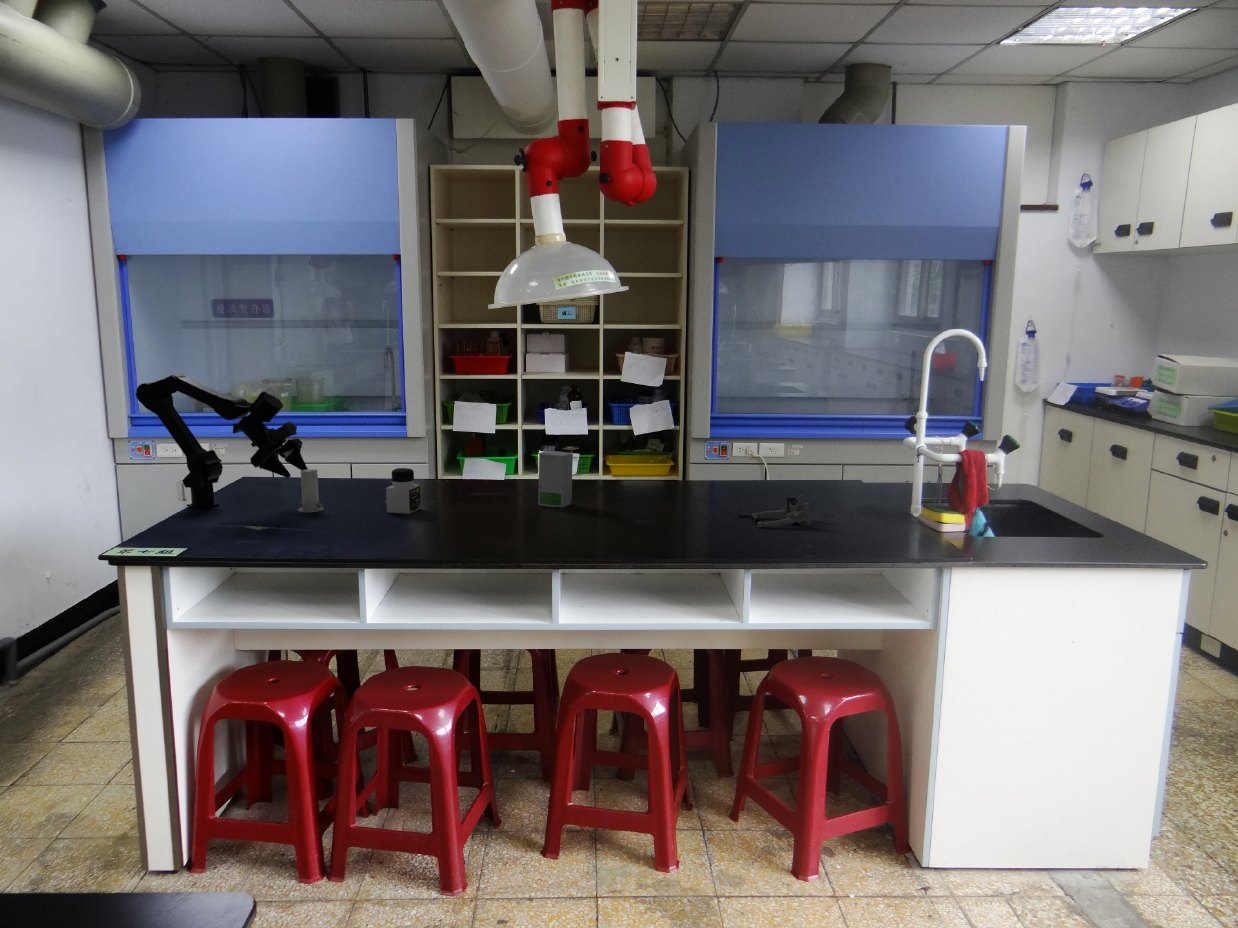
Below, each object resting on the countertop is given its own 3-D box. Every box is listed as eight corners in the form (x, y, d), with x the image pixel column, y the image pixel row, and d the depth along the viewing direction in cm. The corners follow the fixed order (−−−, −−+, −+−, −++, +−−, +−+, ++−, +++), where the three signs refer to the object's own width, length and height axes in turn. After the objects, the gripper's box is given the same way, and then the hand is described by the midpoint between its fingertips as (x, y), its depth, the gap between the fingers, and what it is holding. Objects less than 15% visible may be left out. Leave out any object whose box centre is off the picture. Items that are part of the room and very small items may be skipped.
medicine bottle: (410, 514, 243) (408, 471, 241) (386, 512, 244) (384, 470, 242) (421, 508, 250) (419, 467, 248) (397, 507, 251) (396, 466, 249)
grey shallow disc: (292, 513, 242) (292, 511, 242) (305, 508, 249) (305, 506, 249) (316, 514, 241) (316, 512, 241) (328, 509, 248) (328, 507, 248)
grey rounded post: (296, 510, 243) (294, 471, 241) (304, 507, 247) (302, 468, 246) (317, 511, 242) (315, 472, 240) (325, 508, 246) (323, 469, 245)
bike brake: (807, 515, 242) (735, 524, 244) (804, 491, 241) (732, 501, 242) (816, 527, 229) (740, 538, 230) (813, 502, 228) (737, 513, 229)
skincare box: (537, 506, 254) (537, 453, 252) (547, 501, 260) (547, 450, 258) (563, 508, 251) (563, 455, 248) (573, 504, 257) (573, 451, 254)
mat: (230, 523, 230) (230, 522, 230) (271, 515, 240) (271, 514, 240) (258, 530, 223) (258, 529, 223) (298, 521, 233) (298, 520, 233)
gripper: (257, 417, 233) (298, 459, 233) (294, 410, 251) (332, 449, 251) (232, 446, 235) (273, 487, 235) (270, 436, 253) (308, 475, 253)
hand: (298, 473), depth 244 cm, fingers open, 9 cm apart
